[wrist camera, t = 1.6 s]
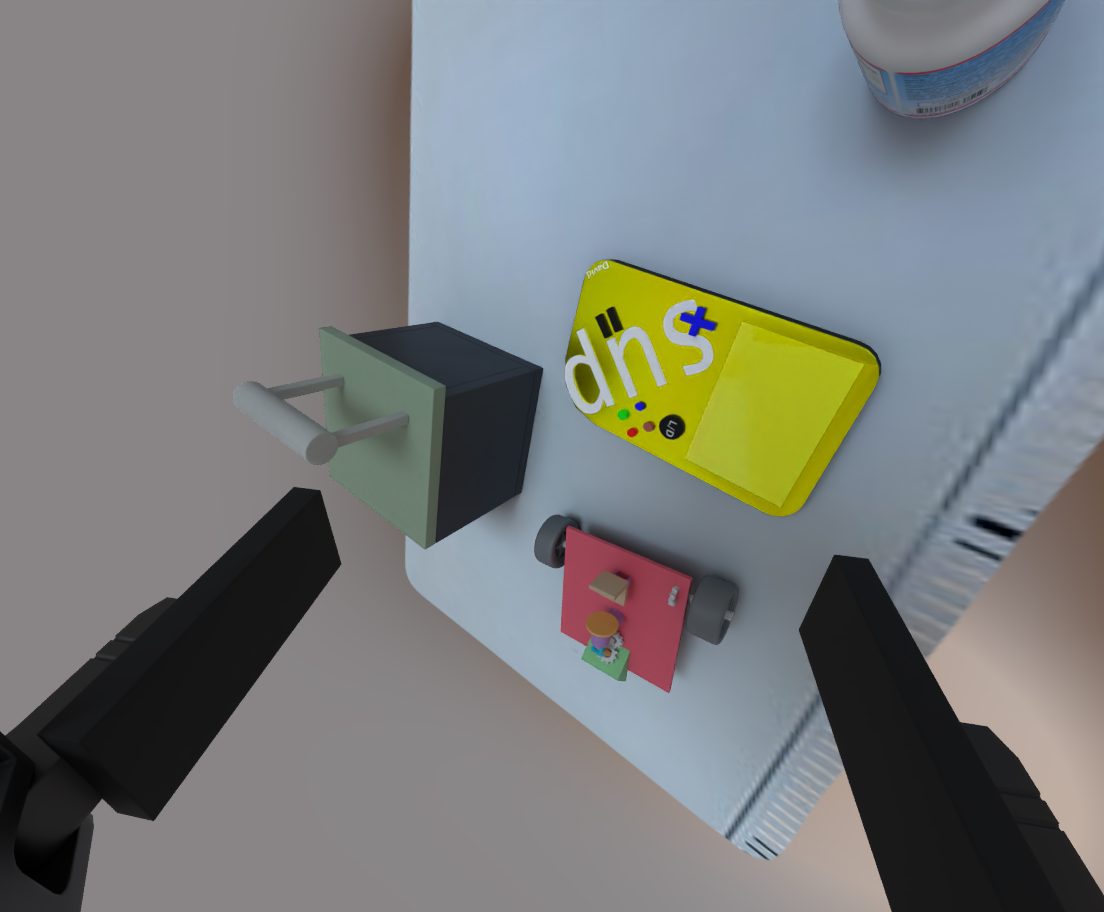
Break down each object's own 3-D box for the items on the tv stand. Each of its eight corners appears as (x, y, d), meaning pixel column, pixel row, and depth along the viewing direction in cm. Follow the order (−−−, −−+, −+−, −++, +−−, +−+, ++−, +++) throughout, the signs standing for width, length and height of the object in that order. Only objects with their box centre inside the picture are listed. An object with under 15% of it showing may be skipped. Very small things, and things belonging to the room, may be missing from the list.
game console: (898, 345, 24) (896, 350, 23) (797, 519, 29) (792, 530, 28) (596, 253, 32) (584, 253, 30) (563, 404, 37) (552, 409, 36)
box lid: (331, 326, 35) (207, 341, 29) (446, 385, 29) (323, 420, 23) (340, 472, 41) (240, 510, 35) (435, 543, 36) (336, 602, 30)
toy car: (748, 572, 32) (715, 631, 27) (717, 695, 37) (683, 763, 32) (566, 500, 40) (514, 536, 35) (560, 610, 45) (513, 655, 40)
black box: (437, 321, 43) (332, 336, 35) (543, 367, 37) (446, 397, 30) (431, 438, 49) (340, 472, 41) (521, 492, 43) (436, 543, 36)
